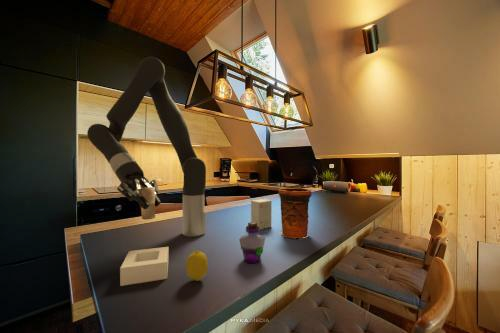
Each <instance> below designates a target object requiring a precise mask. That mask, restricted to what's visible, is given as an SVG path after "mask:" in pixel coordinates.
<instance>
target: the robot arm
mask: <svg viewBox="0 0 500 333" xmlns="http://www.w3.org/2000/svg"><path fill="white" fill-rule="evenodd" d="M165 73H166V69H165V64H164V63H163V62H162V60H160V59H159V58H157V57H155V56H146V57H144V58H143V59H142V60H141V61H140V63H139V66H138V68H137V70H136V72H135V75H133V78H132V80H131V81H130V82H129V84H128V86H127V87H126V88H125V89H124V91H123V93H122V94H121V95H120V97H119V98H118V99H117V100H116V101H115V103H114V104H113V106H111V108H110V109H109V110H108V112H107V113H106V115H105V116H106V119H107V120H108V122H109V125H108V126H107V125H104V124H102V123H94V124H91V125H90V126H89V127H88V129H87V135H86V136H87V138H88V139H89V141H90V142H91V144H92V145H93V146H94V147H95V148H96V149H97V150H98V151H99V152H100V153H101V154H102V155H103V156H104V158H105V159H106V161H107V163H109V166H110V168H111V170H112V171H113V173H114V174H115V176H116V177H117V178H118V180H119V181H120V184H119V185H118V186H117V188H116V190H117V191H118V192H120V194H122V195H123V196H124V197H125V198H126V199H128V201H130V202H133V201H136V202H137V203H138V205H139V206H140V207H141V209H142V208H143V209H147V208H148V207H149V203H148V202H147V200H146V199H145V198H144V196H143V195H142V193H141V188H143V187H155V208H157V207H159V206H160V204H161V200H160V198H159V197H158V193H160V189H159V186H158V184H157V183H158V182H157V180H156V179H152V180H149V179H148V178H146V177H145V174H144V170H143V169H142V168H141V167H140V165H139V164H138V163H137V162H136V160H135V158H134V157H133V156H132V155H131V154H130V152H129V151H128V150H127V149H126V148H125V146H124V145H122V143H121V140H122V138H123V136H124V133H125V130H126V126H127V125H128V124H129V122H130V120H131V119H132V118H133V116H134V114H135V113H136V112H137V110H138V108H139V106H140V105H141V104H142V101H143V99H144V98H145V96H146V94H147V93H148V94H149V95H150V97H151V99H152V101H153V104H154V108H155V109H156V110H155V111H156V113H157V115H158V119H159V120H160V123H161V125H162V127H163V129H164V132H165V133H166V136H167V138H168V141H170V143H171V145H172V147H173V149H174V150H175V152H176V155H177V158H178V161H179V164H180V167H181V170H182V172H183V187H182V229H181V231H182V236H184V237H192V238H193V237H199V236H202V235H205V234H206V212H205V190H206V185H207V182H206V180H207V177H206V176H207V166H206V163H205V161H203V160H202V158H199V157H198V156H197V154H196V152H195V150H194V148H193V145H192V142H191V137H190V134H189V133H190V132H189V129H188V125H187V123H186V120H185V118H184V116H183V114H182V111H181V110H180V108H179V107H178V106H177V104H176V102H175V101H174V100H173V99H172V97H171V95H170V92H169V90H168V88H167V84H166V82H165V75H166V74H165ZM142 196H143V197H142Z"/></svg>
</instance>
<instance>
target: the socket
mask: <svg viewBox="0 0 500 333" xmlns="http://www.w3.org/2000/svg"><path fill="white" fill-rule="evenodd" d="M169 251H170V250H169V246H163V247H154V248H144V249H135V250H129V251H128V253H127V254H126V257H125V258H124V261H123V262H122V264H121V266H120V267H119V274H120V275H119V278H120V280H119V281H120V283H119V285H120V287H122V286H123V287H124V286H128V285H135V284H142V283H148V282H154V281H160V280H161V281H162V280H166V279H168V274H169V272H168V271H169V258H170V257H169Z"/></svg>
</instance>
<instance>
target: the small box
mask: <svg viewBox="0 0 500 333" xmlns="http://www.w3.org/2000/svg"><path fill="white" fill-rule="evenodd" d="M250 203H251V204H250V205H251V206H250V222H256V223H257V226H259V231H260V229H261V230H264V228H265V229H268V227H269V228H272V200H271V199H265V198H261V199H260V198H259V199H253V200H250Z"/></svg>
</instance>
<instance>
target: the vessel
mask: <svg viewBox="0 0 500 333" xmlns="http://www.w3.org/2000/svg"><path fill="white" fill-rule="evenodd" d="M277 192H278V196H279V198H280V215H281V230H280V233H281V234H283V236H282V237H285V238H291V239H295V240H297V239H296V238H303V237H306V236H307V234H308V226H309V203H310V199H311V197H312V195H313V194H312V191H311V189H307V188H302V187H301V188H297V187H292V188H289V187H283V188H282V187H281V188H279V189H278V191H277ZM281 231H282V232H281ZM281 234H280V235H281Z"/></svg>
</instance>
